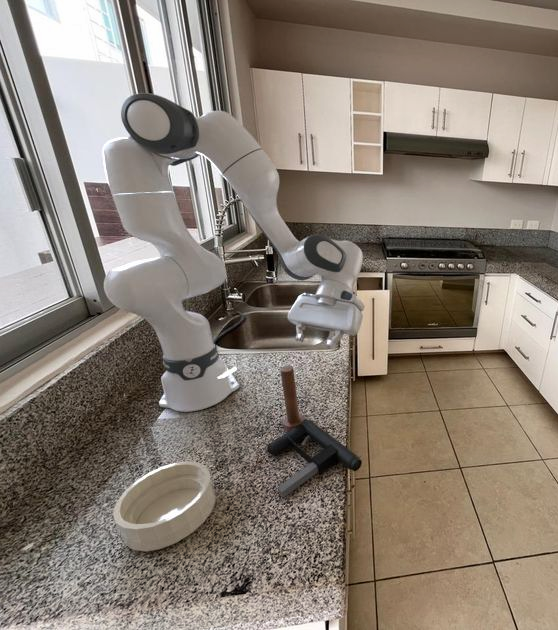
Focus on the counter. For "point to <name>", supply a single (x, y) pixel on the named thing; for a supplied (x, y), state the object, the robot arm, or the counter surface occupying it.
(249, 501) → the counter surface
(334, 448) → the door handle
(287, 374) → the stirring stick
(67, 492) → the counter surface
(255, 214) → the robot arm
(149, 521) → the bowl
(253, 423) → the counter surface
